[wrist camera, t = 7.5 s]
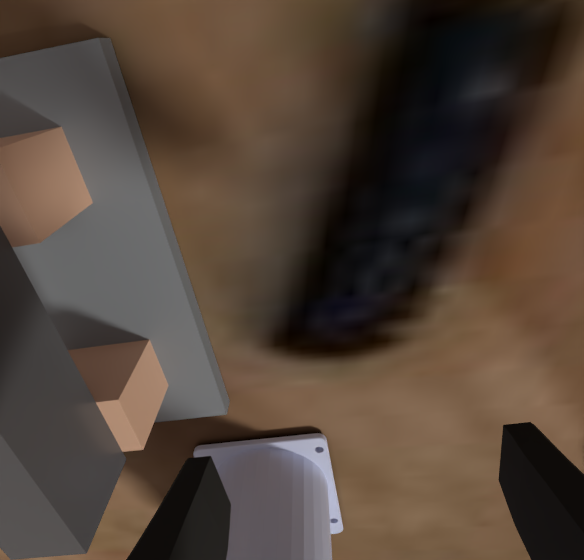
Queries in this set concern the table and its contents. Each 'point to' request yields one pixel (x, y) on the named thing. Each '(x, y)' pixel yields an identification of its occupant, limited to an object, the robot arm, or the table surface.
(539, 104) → the table surface
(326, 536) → the robot arm
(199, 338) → the display stand
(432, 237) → the table surface
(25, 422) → the dark gray bar
